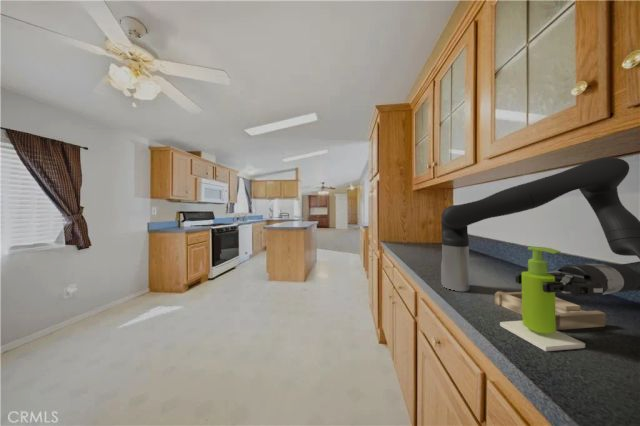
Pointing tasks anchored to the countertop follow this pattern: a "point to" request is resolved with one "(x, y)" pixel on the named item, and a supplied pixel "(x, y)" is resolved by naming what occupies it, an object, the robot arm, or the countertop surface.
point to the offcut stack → (565, 306)
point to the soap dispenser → (538, 294)
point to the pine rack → (562, 319)
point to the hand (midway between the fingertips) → (530, 283)
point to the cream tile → (543, 337)
